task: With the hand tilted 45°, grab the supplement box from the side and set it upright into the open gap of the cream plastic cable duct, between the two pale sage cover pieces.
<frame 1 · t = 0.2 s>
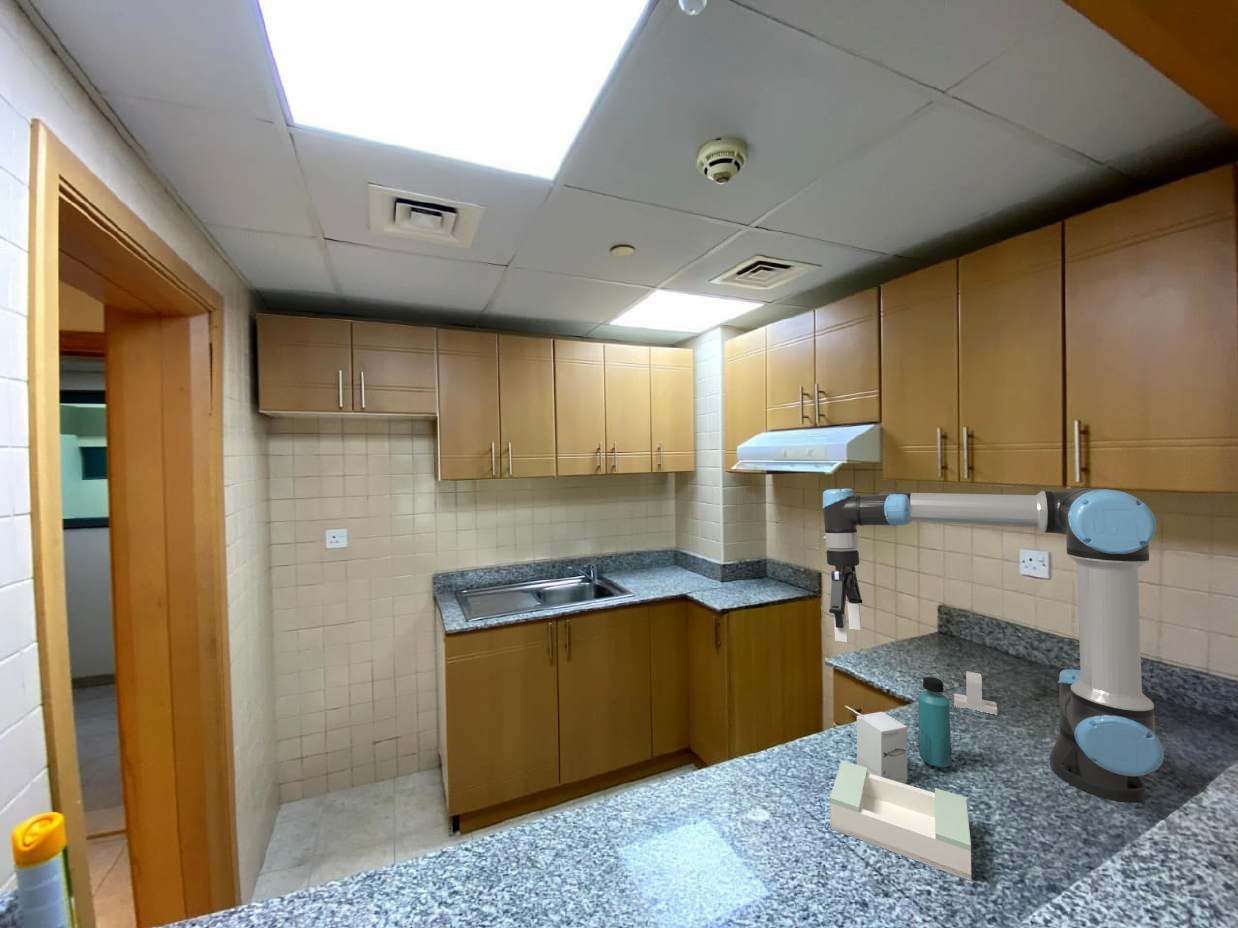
hand: (848, 634, 122), 27 cm above the counter, tool pointing down, fingers open, 13 cm apart
cable organizer: (975, 708, 139), on the counter
beverage bottle: (934, 766, 113), on the counter
cable duct: (898, 828, 93), on the counter
supplement box: (881, 777, 109), on the counter
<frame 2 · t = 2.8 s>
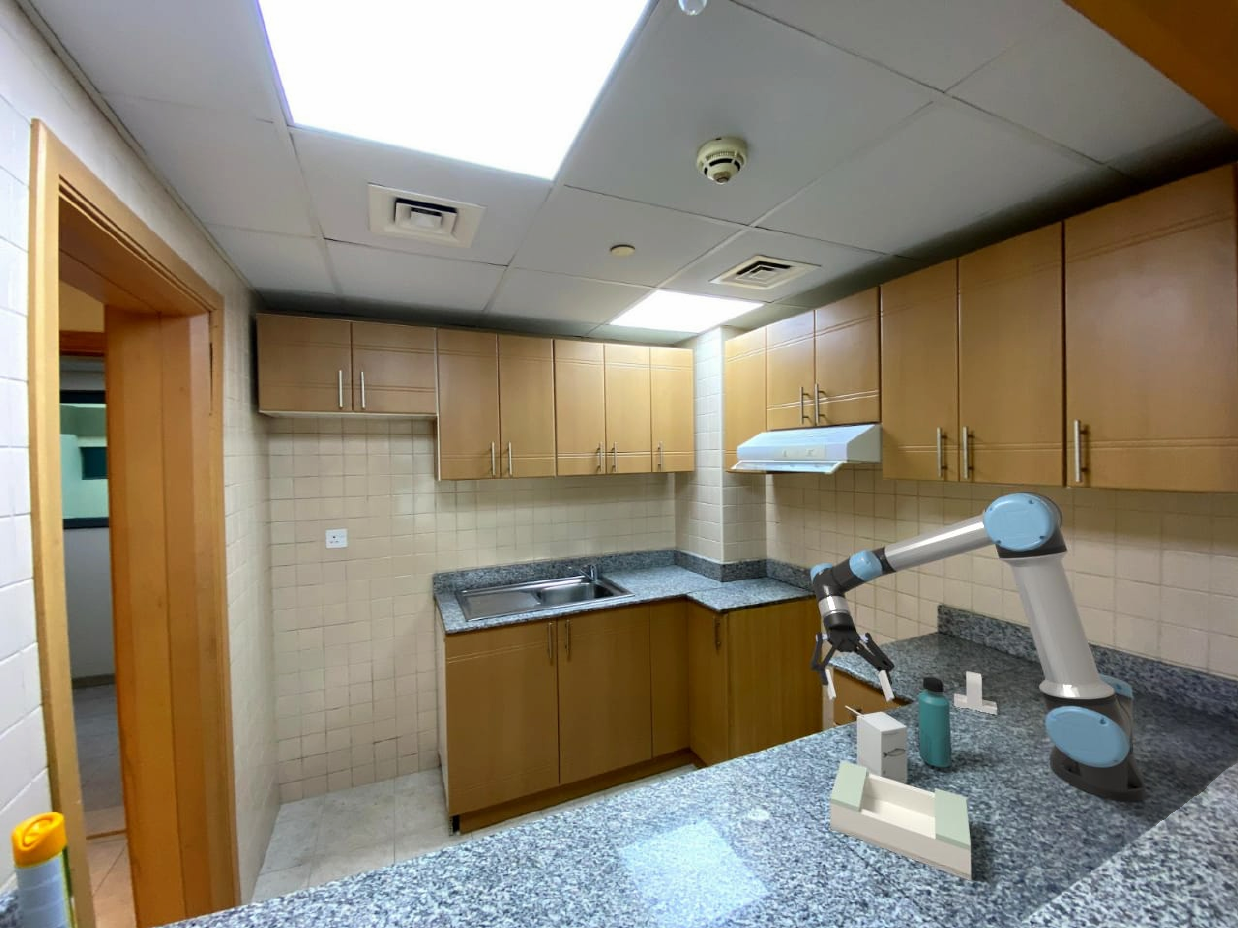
hand: (861, 699, 117), 13 cm above the counter, tool tilted 45°, fingers open, 13 cm apart
nothing on the counter moved.
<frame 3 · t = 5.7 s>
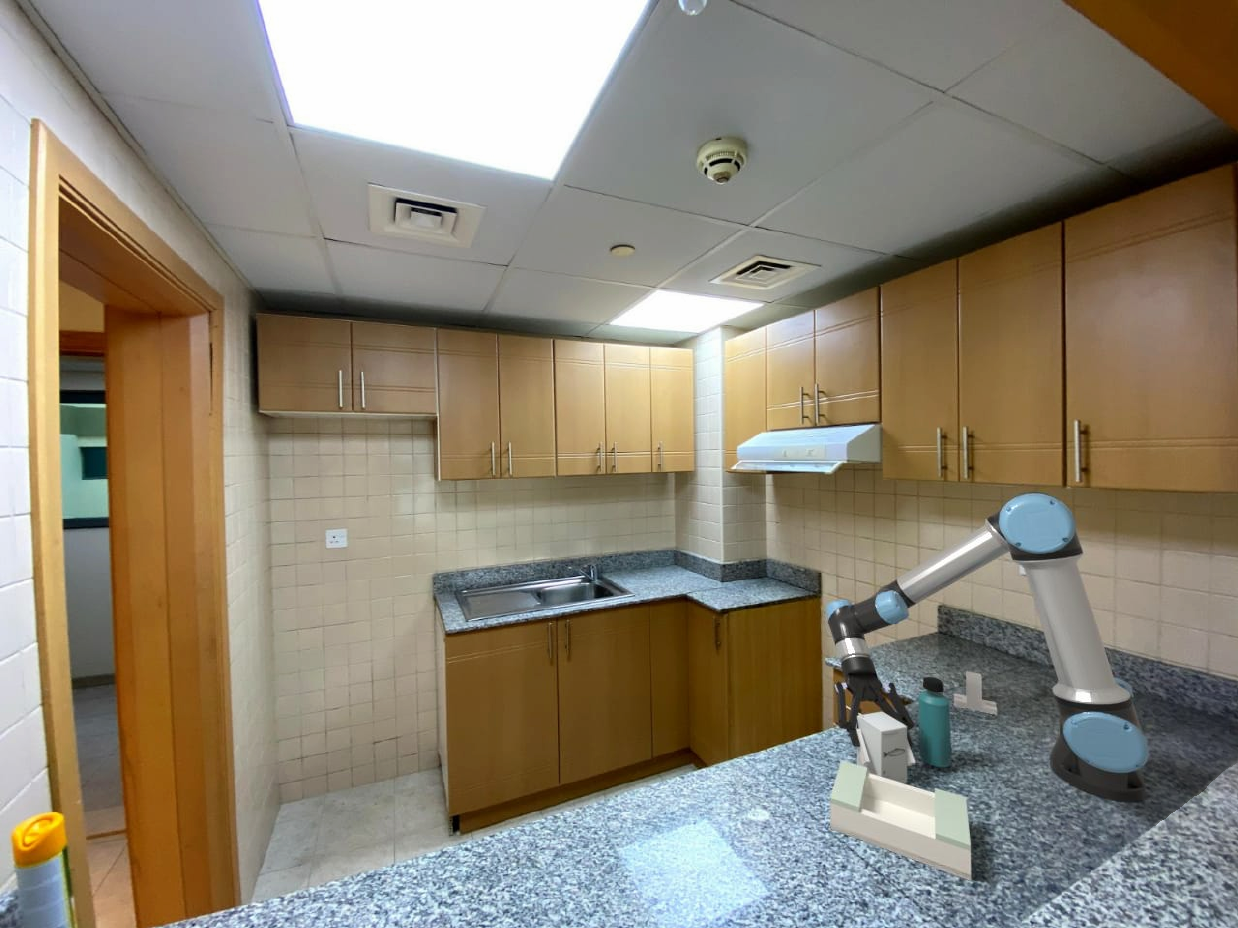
hand: (888, 763, 106), 5 cm above the counter, tool tilted 45°, fingers closed on supplement box, 9 cm apart
supplement box: (881, 777, 109), on the counter, touching gripper
everything else where it was.
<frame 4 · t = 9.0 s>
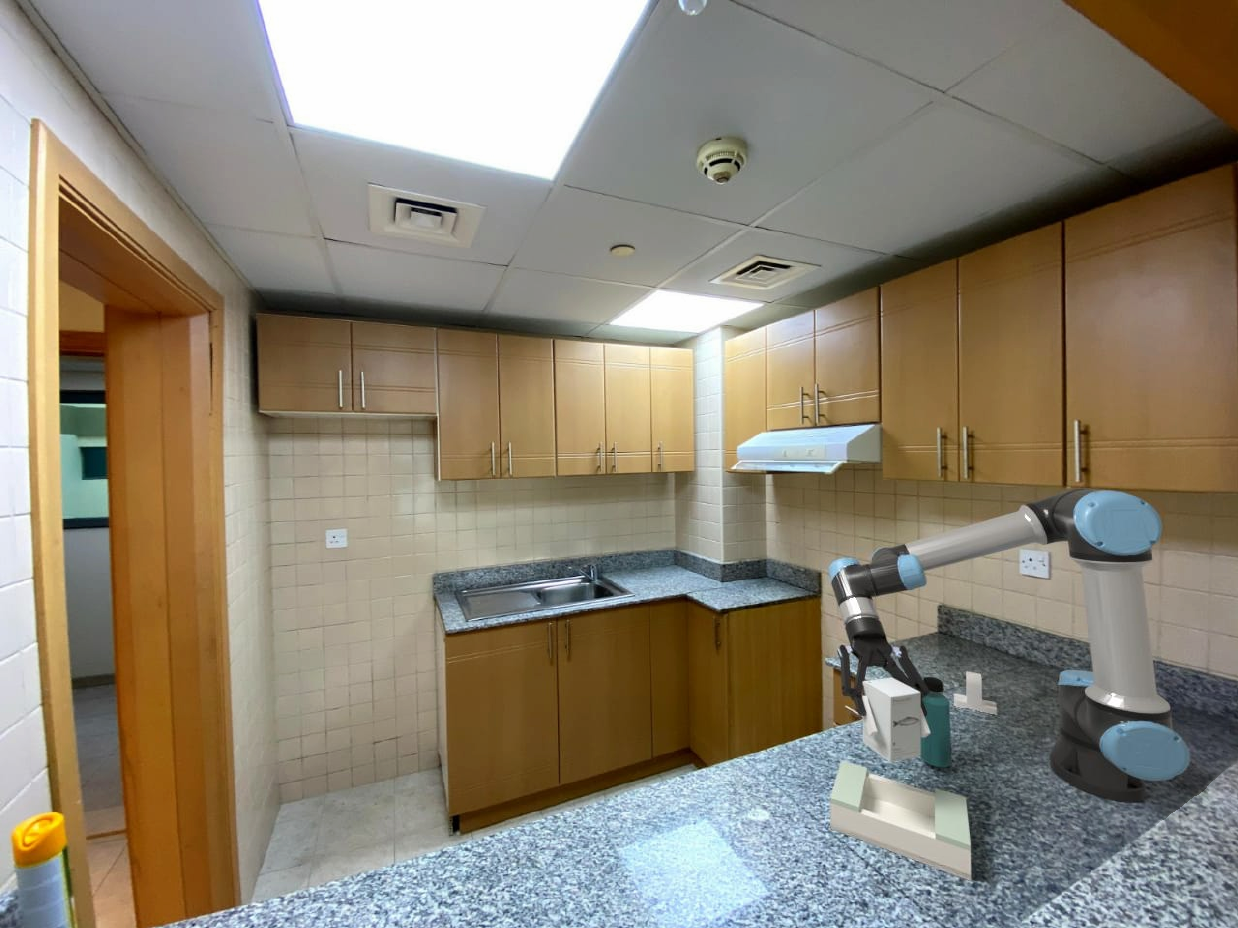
hand: (899, 734, 92), 19 cm above the counter, tool tilted 45°, fingers closed on supplement box, 9 cm apart
supplement box: (891, 750, 95), point 14 cm above the counter, touching gripper
everything else where it was.
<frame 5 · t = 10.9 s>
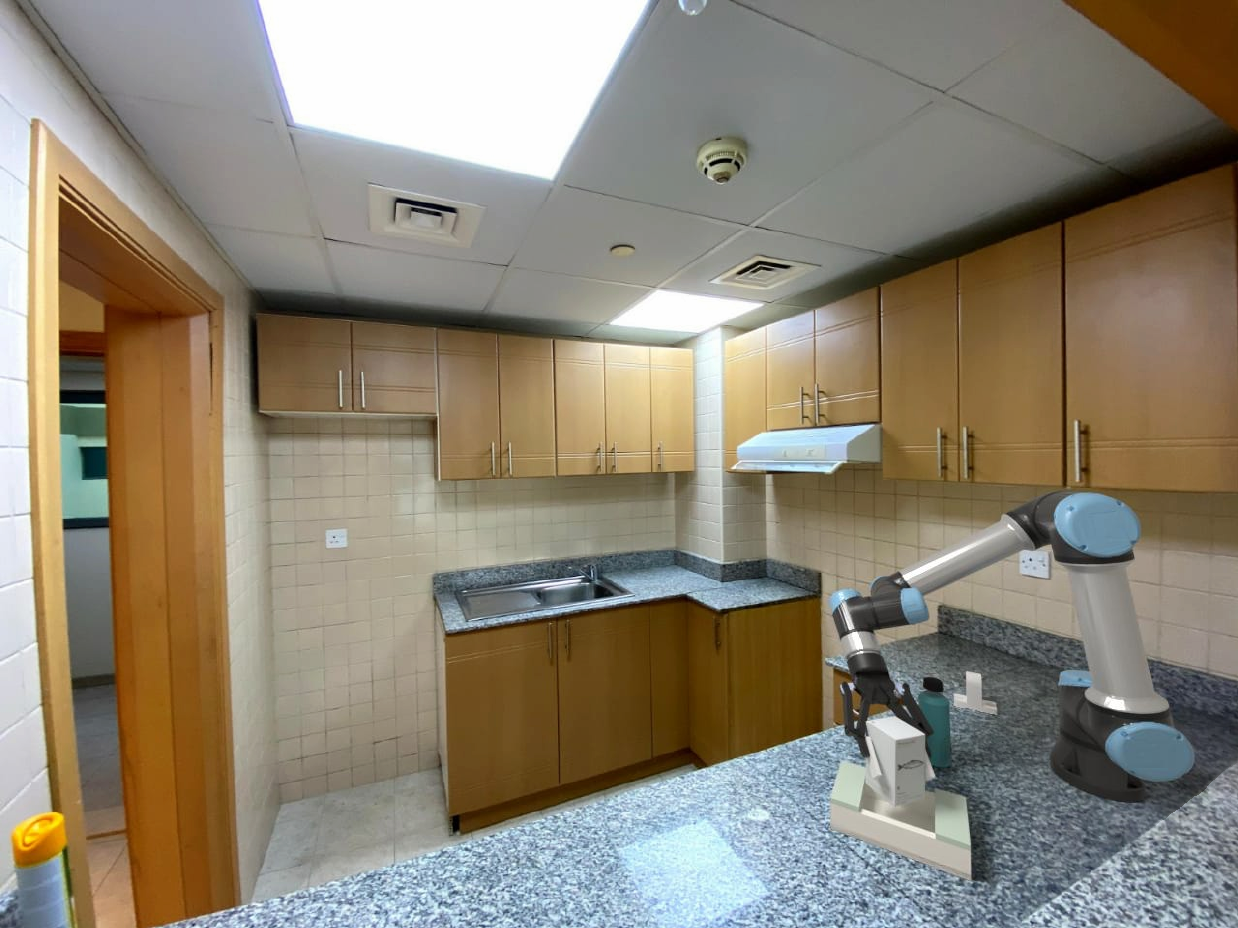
hand: (903, 777, 90), 12 cm above the counter, tool tilted 45°, fingers closed on supplement box, 9 cm apart
supplement box: (894, 792, 94), point 7 cm above the counter, touching gripper
everything else where it was.
when the fingers open (7 cm above the counter, at t = 12.5 s): supplement box drops 1 cm, resting on cable duct.
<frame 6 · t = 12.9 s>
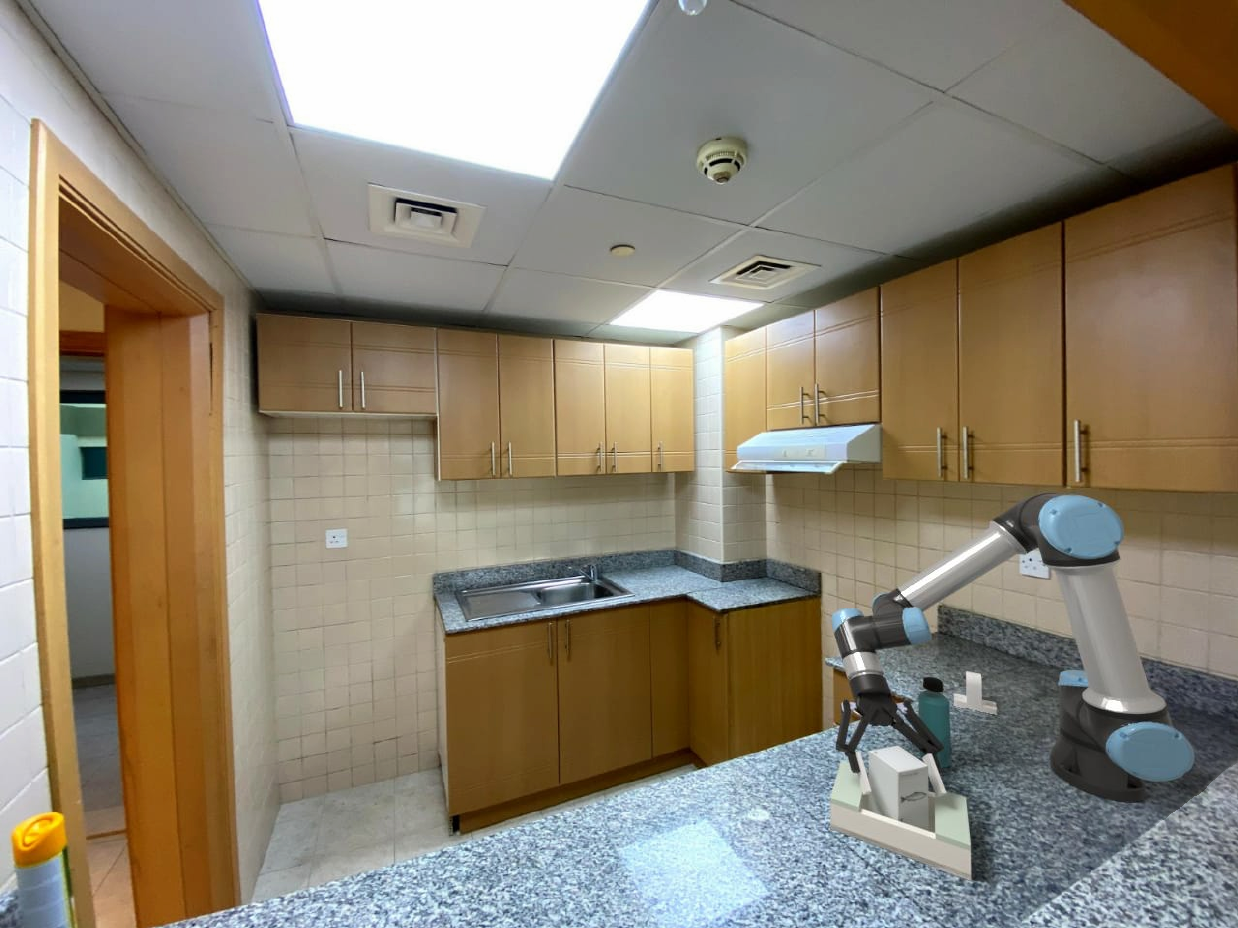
hand: (904, 794, 91), 8 cm above the counter, tool tilted 45°, fingers open, 13 cm apart
supplement box: (898, 823, 93), point 1 cm above the counter, touching cable duct
everything else where it was.
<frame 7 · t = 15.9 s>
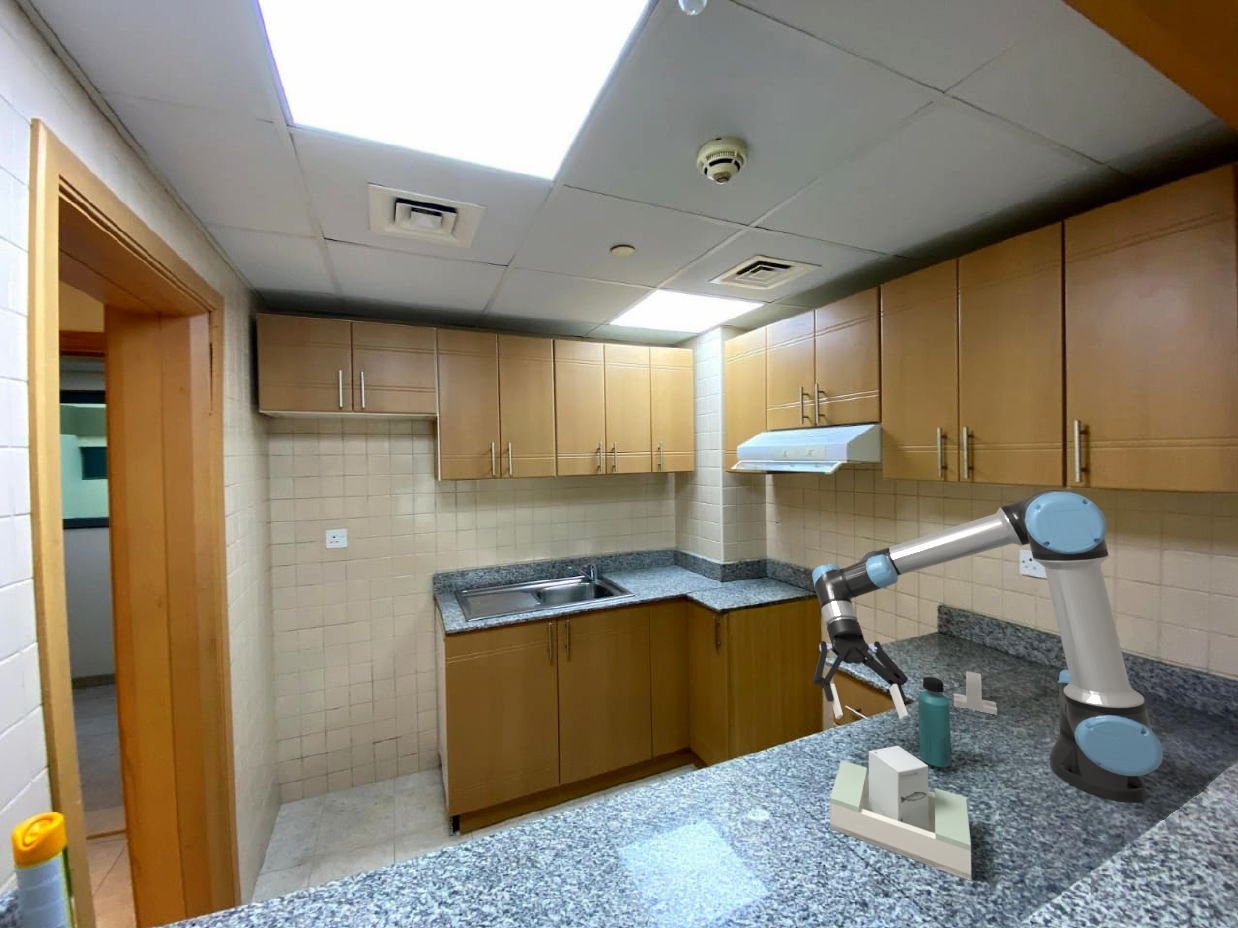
hand: (871, 717, 104), 16 cm above the counter, tool tilted 45°, fingers open, 13 cm apart
nothing on the counter moved.
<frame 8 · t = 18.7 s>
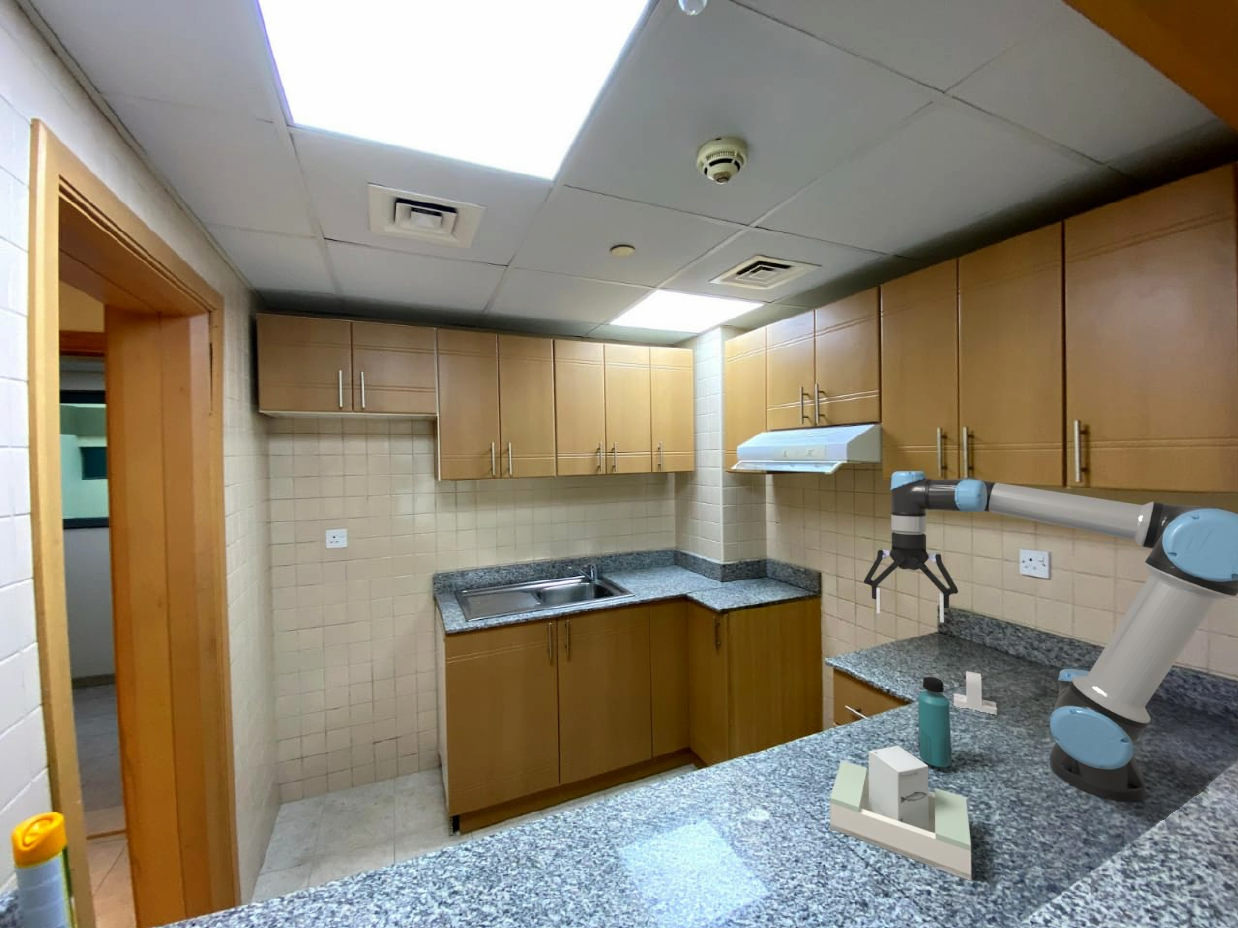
hand: (909, 616, 122), 32 cm above the counter, tool pointing down, fingers open, 13 cm apart
nothing on the counter moved.
at the end: supplement box 0.1 cm off-centre on the cable duct, point 0.8 cm above the cable duct's base; supplement box tilted 0°; the gripper is holding nothing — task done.
